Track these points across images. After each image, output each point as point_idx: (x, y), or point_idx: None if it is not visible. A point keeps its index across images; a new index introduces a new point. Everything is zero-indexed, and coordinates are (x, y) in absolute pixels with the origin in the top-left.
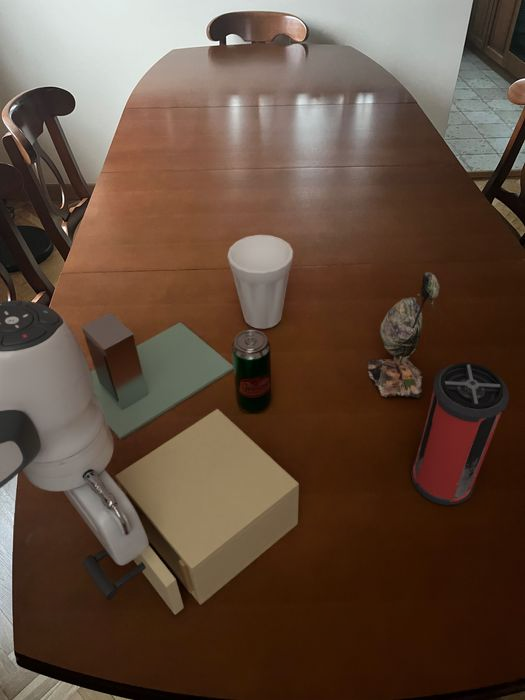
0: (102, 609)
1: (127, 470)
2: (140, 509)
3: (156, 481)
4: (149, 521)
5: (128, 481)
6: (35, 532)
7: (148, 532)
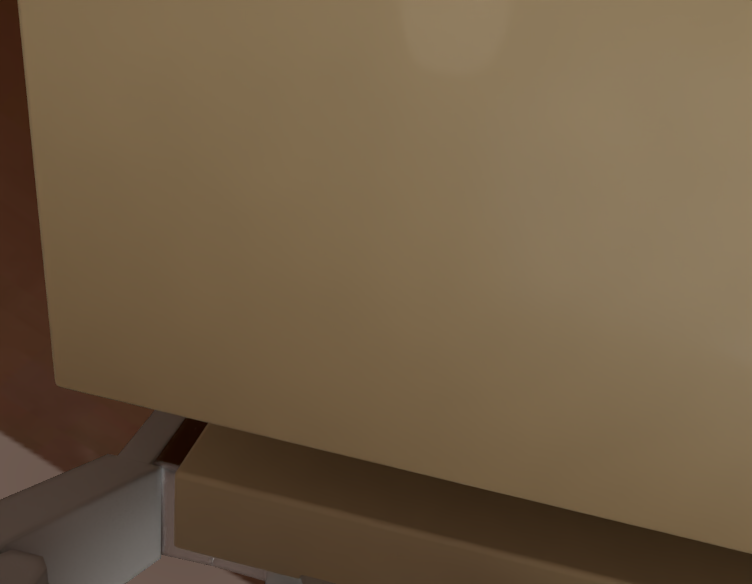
0: None
1: (83, 235)
2: None
3: (675, 92)
4: None
5: (256, 354)
6: (89, 439)
7: None
